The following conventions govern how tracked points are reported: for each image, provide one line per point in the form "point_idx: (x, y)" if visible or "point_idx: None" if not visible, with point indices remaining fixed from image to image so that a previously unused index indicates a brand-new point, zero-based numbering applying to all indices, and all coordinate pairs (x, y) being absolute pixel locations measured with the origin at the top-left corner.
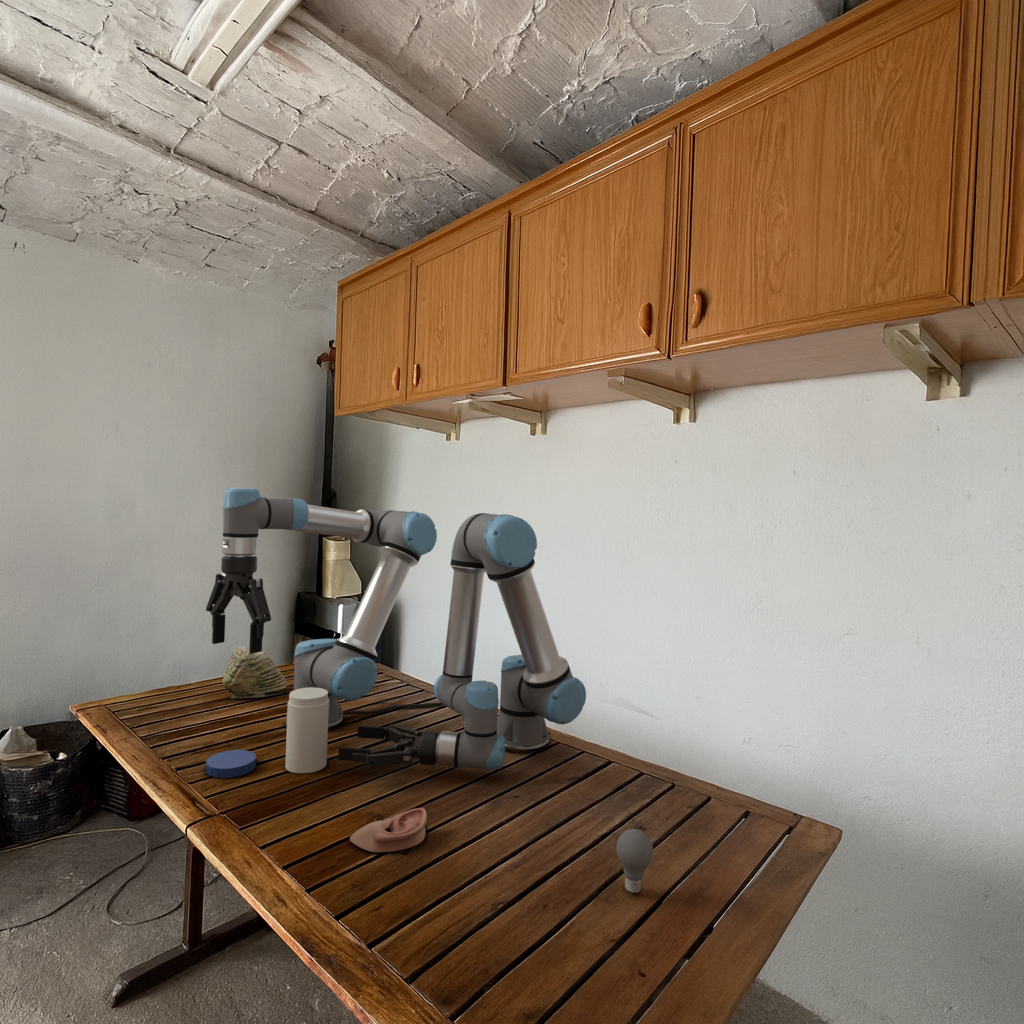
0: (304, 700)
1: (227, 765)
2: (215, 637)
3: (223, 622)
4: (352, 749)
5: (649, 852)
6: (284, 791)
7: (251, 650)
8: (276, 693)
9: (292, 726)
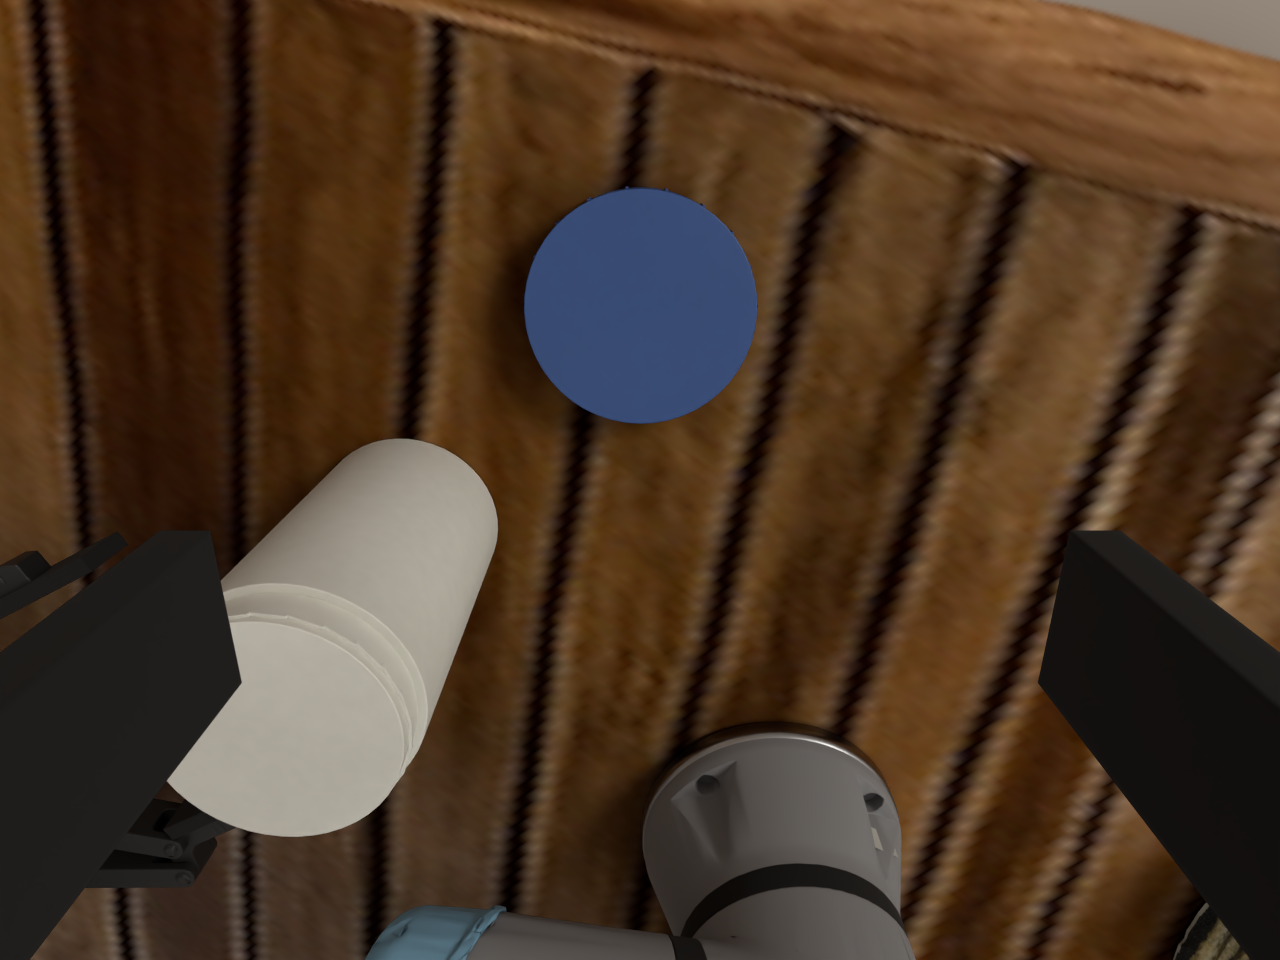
0: None
1: (585, 250)
2: (1122, 601)
3: (1252, 916)
4: (25, 586)
5: None
6: (240, 295)
7: (136, 551)
8: (1186, 939)
9: (318, 524)
